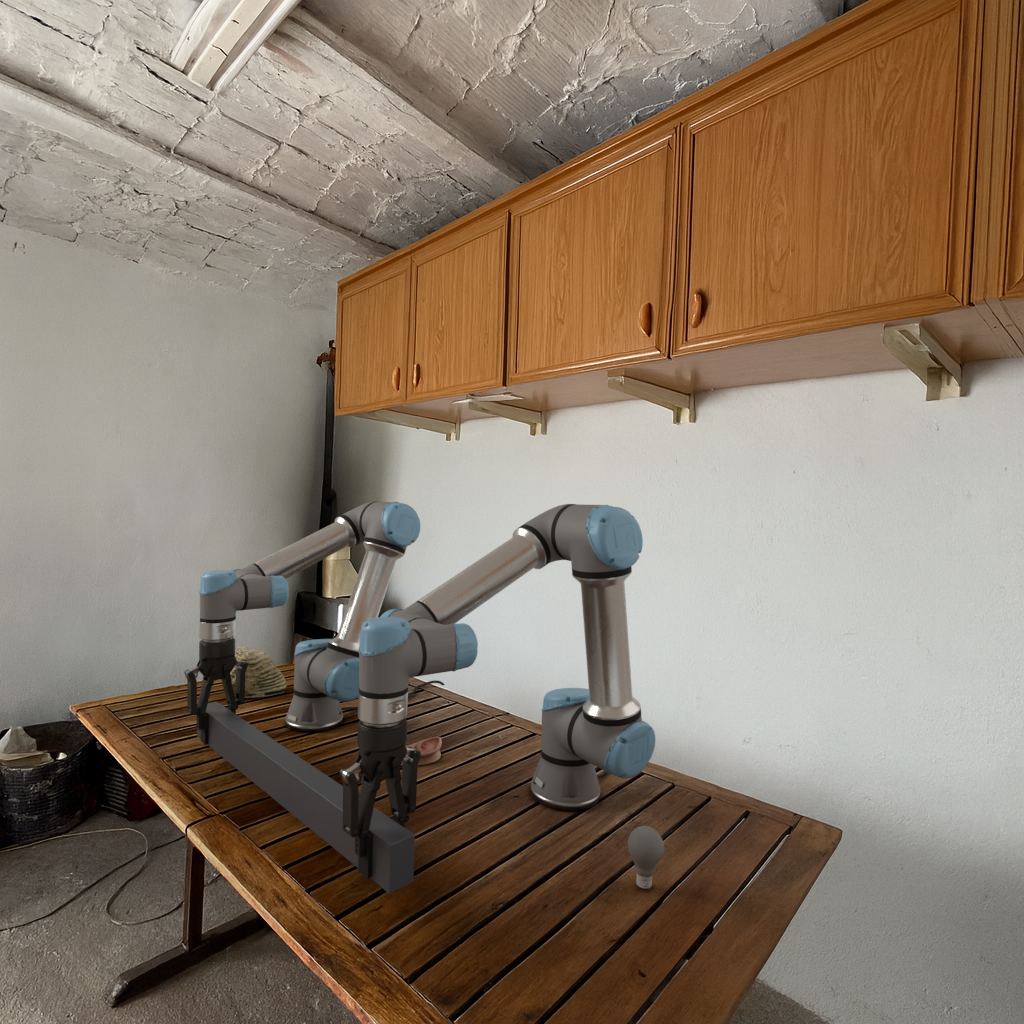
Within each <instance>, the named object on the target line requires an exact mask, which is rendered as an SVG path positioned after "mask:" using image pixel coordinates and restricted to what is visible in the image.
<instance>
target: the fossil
mask: <svg viewBox="0 0 1024 1024" xmlns="http://www.w3.org/2000/svg"><path fill="white" fill-rule="evenodd" d="M235 657H236V659H237V660H238V661H241V660H243V661H245V662H247V663H248V667H247V670H246V672H245V699H250V698H264V697H271V696H275V695H281V694H284V693H285V691H286V689H287V687H288V686H287V680H286V678H285V676H284V674H283V673H282V672H281V669H279V668H278V667H277V665H276V663H275V662H274V660H273V659H272V658H271V657H270V656H269V655H268V654H267V653H266V652H265V650H264V649H263V648H260V647H258V648H251V647H247V646H246V647H245V646H238V647H237V648H235ZM235 667H236V666H235ZM235 667H234V668H233V670H232V671H231V673H230V675H231V679H232V680H231V683H232V687H233V691H234V695H235V693H236V670H237V669H236V668H235Z"/></svg>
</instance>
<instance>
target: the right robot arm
mask: <svg viewBox="0 0 1024 1024" xmlns="http://www.w3.org/2000/svg"><path fill="white" fill-rule="evenodd" d="M643 540H644V539H643V532H642V529H641V526H640V523H639V522H638V520H637V519H636V517H635V516H634V515H632V513H631V512H630V511H628V510H627V509H625V508H623V507H621V506H620V507H619V506H613V505H608V504H576V503H565V504H559V505H557V506H554V507H552V508H550V509H548V510H546V511H545V510H544V512H542V513H539V514H538V515H536V516H534V517H533V518H531V519H530V520H527V521H526V522H524V523H523V524H522V525H520V526H518V527H517V528H516V529H515V530H514V531H513V533H512V536H511V538H509V539H508V540H507V541H505V542H503V543H502V544H501V545H499V546H497V547H496V548H494V549H493V550H491V551H490V552H489V553H488V552H487V554H485V555H484V556H482V557H481V558H479V559H478V560H477V561H475V562H473V563H472V564H470V565H469V566H467V567H466V568H465V569H463V570H462V571H459V573H457V574H455V575H454V576H453V577H451V578H449V579H448V580H446V581H445V582H443V583H442V584H440V585H438V586H437V587H435V588H434V589H433V590H430V591H429V592H428V593H427V594H425V595H424V596H422V597H420V598H419V599H418V600H416V601H414V602H413V603H412V604H410V605H408V606H407V607H406V608H391V609H387V610H386V611H385V612H383V613H382V614H381V615H380V616H378V617H377V618H372V619H369V620H367V621H365V622H364V623H363V625H362V627H361V634H360V643H359V649H358V650H359V697H358V698H357V699H358V703H357V706H358V709H357V719H358V720H359V721H358V722H357V747H358V754H357V757H356V758H355V763H354V764H352V765H351V766H350V767H348V768H345V767H343V768H341V769H340V770H339V776H340V780H341V782H342V786H343V831H345V832H346V833H347V834H349V835H350V836H351V837H353V838H354V837H355V846H354V847H355V848H354V851H355V854H356V855H358V868H357V872H359V874H360V875H362V876H363V877H365V879H367V880H369V879H371V877H372V856H373V835H372V834H371V833H370V832H369V828H370V823H371V818H372V813H373V808H375V804H376V798H377V793H378V791H379V790H380V789H381V783H382V782H383V781H385V785H386V790H387V797H388V802H389V806H390V811H391V815H392V816H388V817H389V818H391V819H392V820H394V821H395V822H397V823H398V824H400V825H401V826H403V827H404V828H406V827H405V824H406V823H409V821H410V816H409V814H413V813H415V812H416V810H417V792H418V791H417V790H418V789H417V788H418V766H419V765H418V762H419V759H420V756H421V752H420V751H418V750H416V749H414V748H412V747H408V748H407V747H406V746H407V745H406V744H407V741H408V720H407V719H406V718H407V716H408V705H409V704H408V701H409V698H408V695H409V683H410V682H409V681H410V678H416V677H417V678H418V677H422V676H428V675H429V676H430V675H435V674H442V673H447V672H456V671H459V670H462V669H466V668H469V667H472V666H473V665H474V664H475V662H476V659H477V656H478V649H479V648H478V647H479V644H478V643H479V641H478V638H477V634H476V633H475V631H474V629H473V628H472V626H470V624H467V623H464V622H463V623H458V622H460V621H461V620H462V619H463V618H465V617H466V616H468V615H469V614H470V613H472V612H473V611H475V610H476V609H478V608H479V607H480V606H482V605H483V604H485V603H486V602H488V601H489V600H491V599H492V598H493V597H495V596H496V595H497V594H499V593H500V592H502V591H504V590H505V589H506V588H507V587H509V586H510V585H512V584H513V583H514V582H516V581H518V580H519V579H520V578H522V577H523V576H524V575H526V574H528V573H529V572H530V571H532V570H533V569H534V570H542V569H543V568H545V567H546V566H547V565H549V564H551V563H554V562H558V561H569V562H571V563H570V564H571V574H572V578H573V579H574V580H576V581H577V582H578V583H579V584H580V592H581V593H580V594H581V606H582V618H583V631H584V632H583V633H584V645H585V646H584V647H585V659H586V670H587V681H588V682H587V683H588V688H584V687H562V688H556V689H551V690H549V691H547V692H546V693H545V695H544V696H543V702H542V708H541V734H540V735H541V738H540V758H539V761H538V764H537V765H536V767H535V768H536V769H535V771H534V774H533V777H532V779H531V783H530V795H531V797H532V799H534V801H536V802H537V803H538V804H540V805H543V806H545V807H547V808H550V809H554V810H559V811H566V812H567V811H569V812H571V811H572V812H574V811H575V812H577V811H583V810H588V809H591V808H593V807H595V806H596V805H597V804H598V803H599V802H600V800H601V785H600V782H599V779H601V778H602V777H604V776H605V775H607V774H608V775H612V776H615V777H618V778H620V779H625V780H626V779H627V780H628V779H632V778H634V777H636V776H637V775H639V774H640V773H641V772H642V771H643V770H645V768H646V767H647V766H648V765H649V762H650V760H651V758H652V756H653V754H654V751H655V747H656V733H655V730H654V728H653V726H651V725H650V724H649V723H648V722H647V721H644V720H643V719H642V704H641V703H640V701H639V700H638V699H637V698H636V697H634V696H633V684H632V671H631V655H630V639H629V628H628V627H629V625H628V613H627V612H628V611H627V600H626V599H627V597H626V587H625V586H626V583H625V581H626V580H627V579H628V578H629V577H630V575H632V574H633V571H632V567H633V566H634V565H635V564H637V562H638V560H639V559H640V555H639V554H641V553H642V550H643V542H644V541H643ZM402 761H403V765H402V766H401V763H402ZM401 767H402V769H401ZM596 767H597V768H599V769H601V770H602V771H603V772H602V773H600V774H597V771H596ZM360 773H361V778H360ZM359 781H360V784H361V788H359V787H360V786H359ZM359 789H360V791H359Z"/></svg>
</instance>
